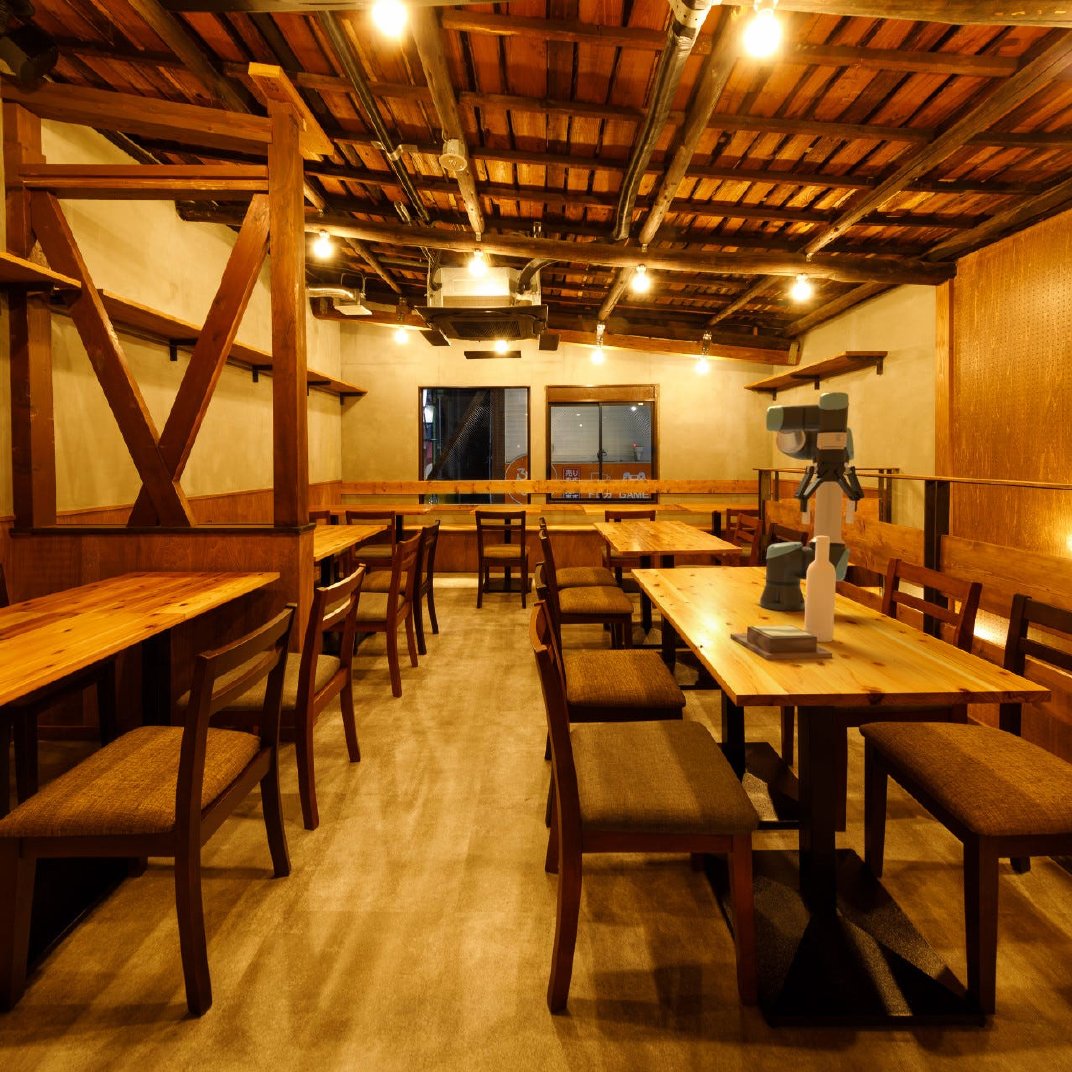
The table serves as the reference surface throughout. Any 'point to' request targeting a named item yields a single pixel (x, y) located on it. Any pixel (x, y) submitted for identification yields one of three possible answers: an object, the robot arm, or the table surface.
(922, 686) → the table surface
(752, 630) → the stand
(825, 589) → the bottle
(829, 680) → the table surface
